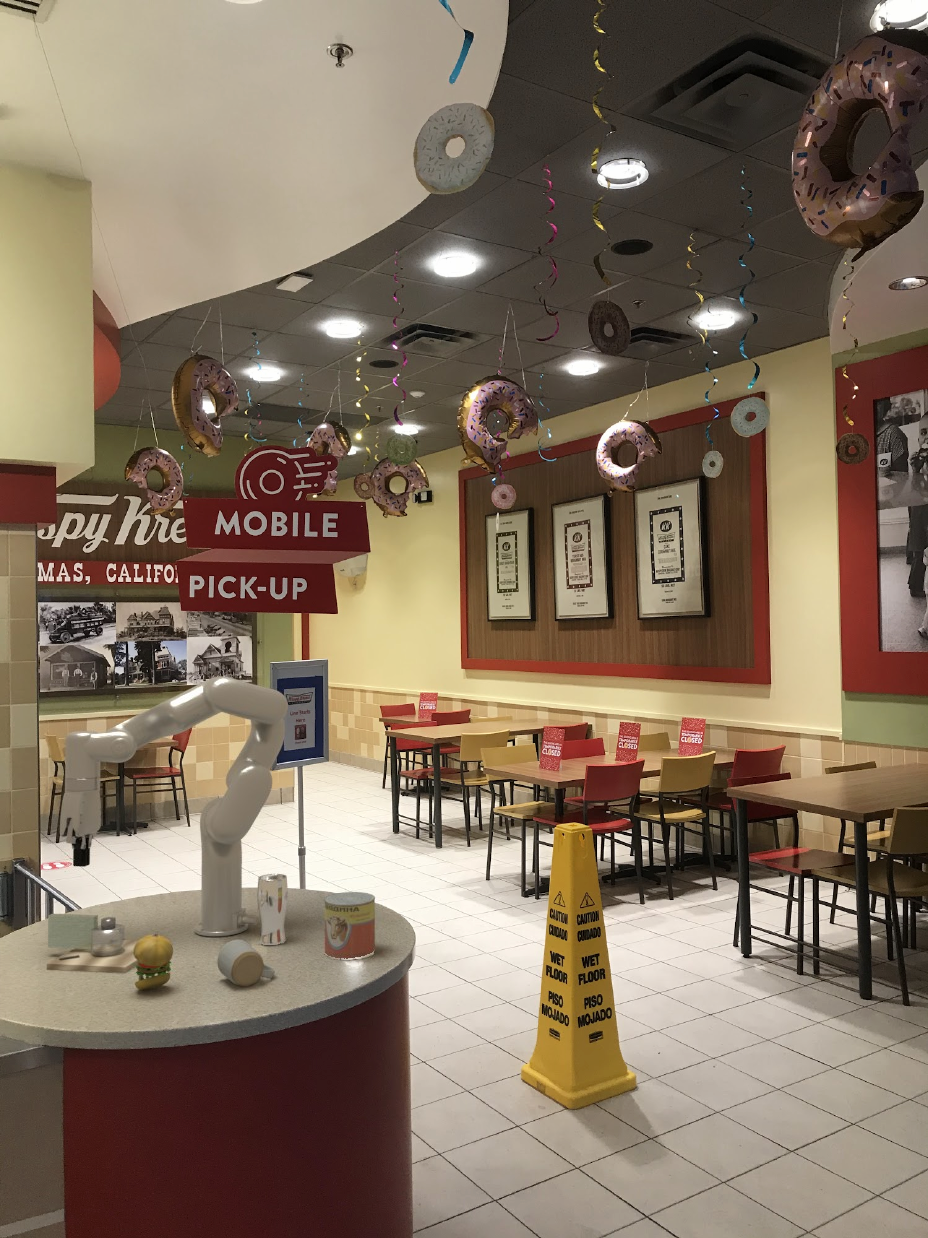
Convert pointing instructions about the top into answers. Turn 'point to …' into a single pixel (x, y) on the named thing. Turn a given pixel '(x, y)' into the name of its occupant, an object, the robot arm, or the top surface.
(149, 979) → the hamburger
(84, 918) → the green panel with knob
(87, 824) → the robot arm
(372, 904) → the canned food
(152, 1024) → the top surface
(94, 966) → the board
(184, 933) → the top surface
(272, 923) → the beer glass
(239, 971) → the ceramic mug
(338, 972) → the top surface
